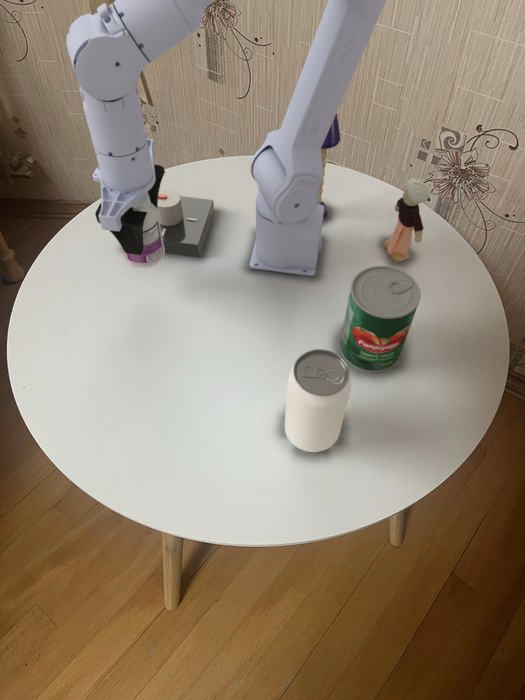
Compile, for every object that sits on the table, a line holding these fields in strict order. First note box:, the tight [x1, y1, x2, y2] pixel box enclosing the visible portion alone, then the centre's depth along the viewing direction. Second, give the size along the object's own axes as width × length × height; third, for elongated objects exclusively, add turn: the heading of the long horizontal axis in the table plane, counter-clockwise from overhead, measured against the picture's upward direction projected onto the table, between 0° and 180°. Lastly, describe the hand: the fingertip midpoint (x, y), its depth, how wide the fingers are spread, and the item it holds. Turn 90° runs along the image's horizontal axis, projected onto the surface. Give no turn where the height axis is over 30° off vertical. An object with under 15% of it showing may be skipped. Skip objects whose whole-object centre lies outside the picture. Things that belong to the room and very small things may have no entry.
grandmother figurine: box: [383, 178, 430, 263], centre depth 78 cm, size 8×4×13 cm, turn 27°
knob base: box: [160, 195, 215, 258], centre depth 85 cm, size 11×10×3 cm
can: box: [284, 348, 352, 453], centre depth 61 cm, size 6×6×12 cm
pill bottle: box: [121, 192, 166, 269], centre depth 71 cm, size 5×5×10 cm
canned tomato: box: [339, 265, 422, 374], centre depth 69 cm, size 8×8×11 cm
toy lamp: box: [318, 112, 341, 220], centre depth 82 cm, size 5×5×17 cm
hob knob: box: [157, 188, 183, 226], centre depth 82 cm, size 4×4×4 cm
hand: (141, 235), depth 72 cm, fingers closed on pill bottle, 5 cm apart
